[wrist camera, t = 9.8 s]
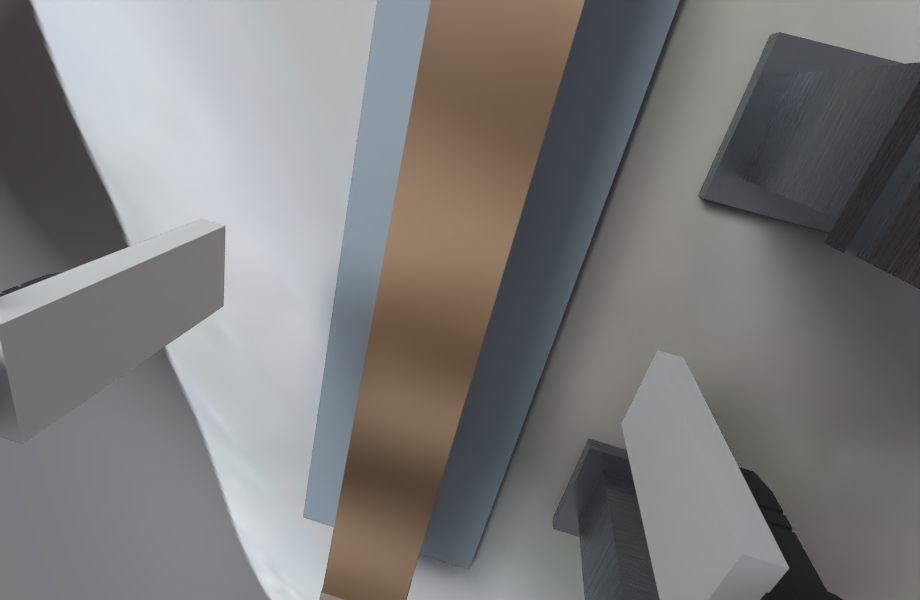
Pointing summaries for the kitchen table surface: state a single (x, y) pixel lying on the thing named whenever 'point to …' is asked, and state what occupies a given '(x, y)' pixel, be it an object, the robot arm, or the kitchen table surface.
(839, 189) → the post
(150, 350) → the robot arm
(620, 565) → the post
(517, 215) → the rail
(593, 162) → the mat
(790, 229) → the kitchen table surface
